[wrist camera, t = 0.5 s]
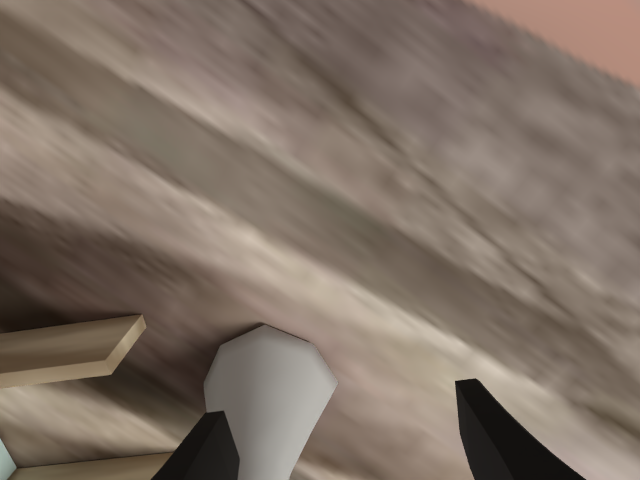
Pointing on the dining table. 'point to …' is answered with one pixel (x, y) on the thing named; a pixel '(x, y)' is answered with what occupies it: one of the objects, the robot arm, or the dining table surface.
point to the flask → (269, 398)
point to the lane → (74, 363)
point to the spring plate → (5, 463)
